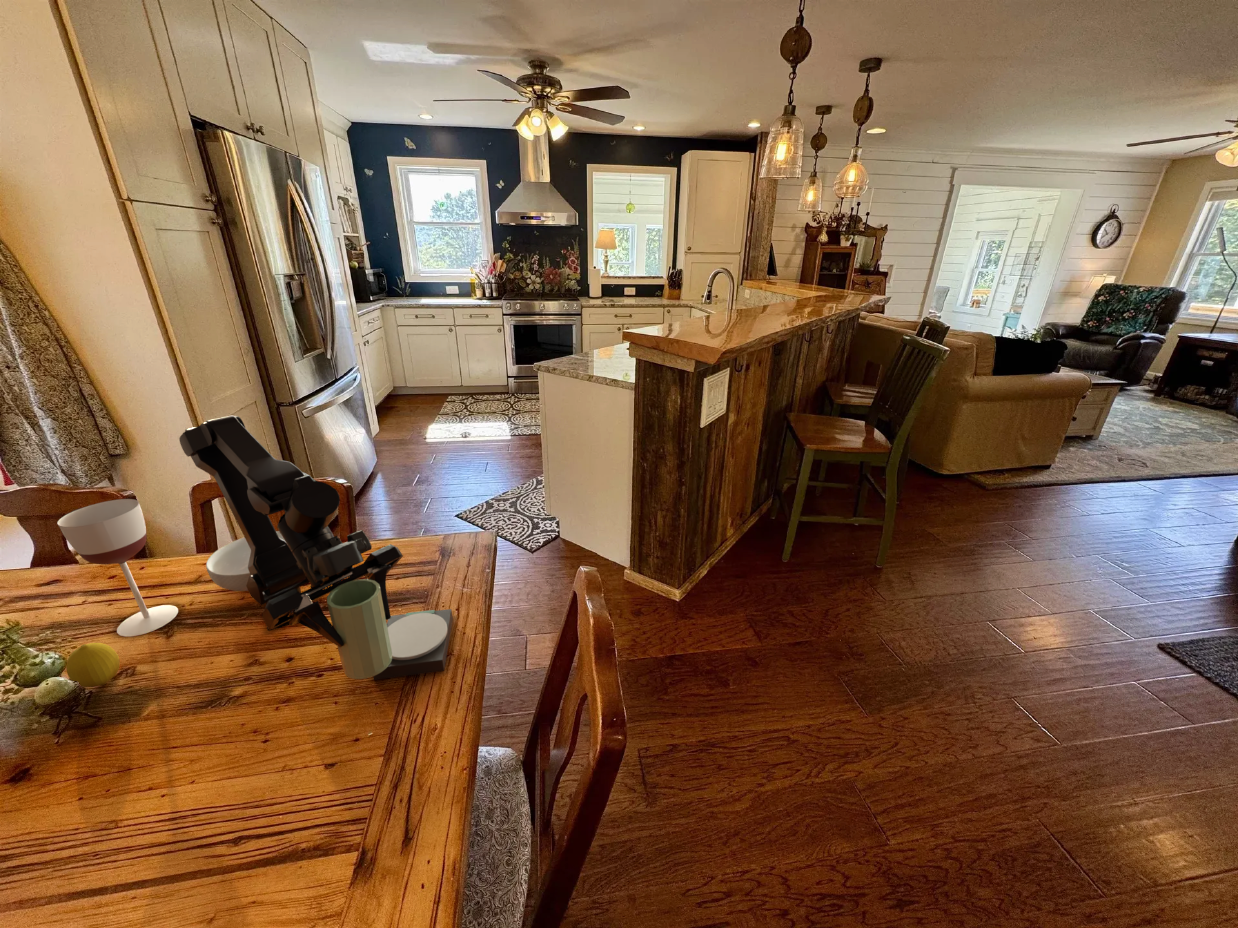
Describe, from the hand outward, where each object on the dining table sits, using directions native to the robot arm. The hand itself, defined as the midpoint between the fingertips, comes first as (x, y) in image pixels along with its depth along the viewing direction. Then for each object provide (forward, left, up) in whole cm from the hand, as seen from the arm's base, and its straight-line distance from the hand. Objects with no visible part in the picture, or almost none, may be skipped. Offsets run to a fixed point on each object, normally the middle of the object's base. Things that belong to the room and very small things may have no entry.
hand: (366, 632), depth 73 cm
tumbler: (-1, -1, -7) cm, 7 cm away
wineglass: (-39, -37, -13) cm, 55 cm away
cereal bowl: (-44, -19, -13) cm, 50 cm away
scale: (-8, +6, -13) cm, 16 cm away
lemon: (-23, -39, -13) cm, 47 cm away
